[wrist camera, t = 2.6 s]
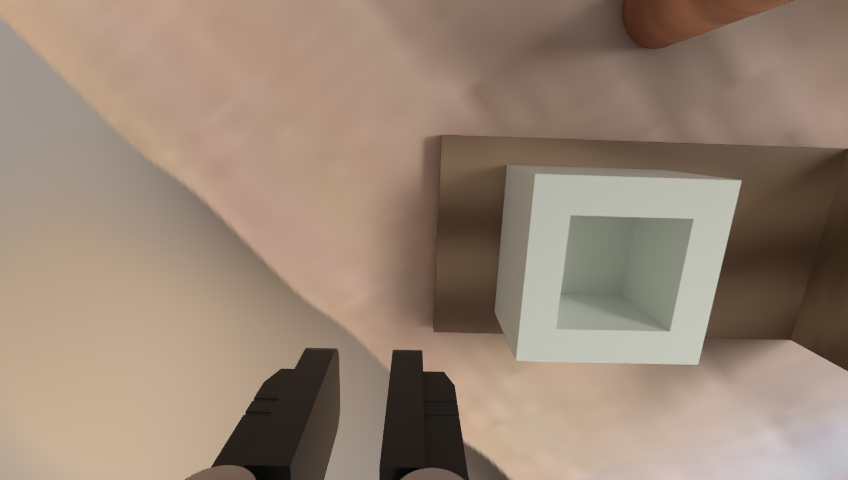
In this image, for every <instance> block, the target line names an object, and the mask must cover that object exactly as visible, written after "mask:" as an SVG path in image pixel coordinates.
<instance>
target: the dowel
mask: <svg viewBox="0 0 848 480" xmlns="http://www.w3.org/2000/svg"><path fill="white" fill-rule="evenodd" d="M791 1H793V0H624V5H623V22H624V26H625V28H626V31H627V33H628V34H629V36H630V37H631V38H632V39H633V40H634V41H635V42H636V43H638V44H639V45H641V46H643V47H647V48H662V47H666V46H669V45H671V44H674V43H677V42H680V41H682V40H685V39H688V38H691V37H694V36H696V35H699V34H702V33H705V32H707V31H710V30H713V29H716V28H718V27H721V26H724V25H727V24H730V23H732V22H735V21H738V20H741V19H743V18H746V17H749V16H752V15H755V14H757V13H760V12H763V11H766V10H768V9H771V8H774V7H777V6H779V5H782V4H785V3H788V2H791Z"/></svg>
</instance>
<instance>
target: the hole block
mask: <svg viewBox="0 0 848 480" xmlns="http://www.w3.org/2000/svg"><path fill="white" fill-rule="evenodd" d="M741 182H742V180H735V179H728V178H720V177H713V176H706V175H698V174H691V173H684V172H676V171H669V170H652V169H621V168H590V167H559V166H528V165H507V170H506V182H505V194H504V206H503V217H502V229H501V241H500V253H499V264H498V276H497V288H496V300H495V311H494V312H495V315H496V317H497V319H498V321H499V324H500V326H501V328H502V330H503V333H504V335H505V337H506V340H507V342H508V344H509V346H510V349H511V351H512V353H513V356H514V358H515V360H516V361H536V362H585V363H635V364H685V365H698V363H699V359H700V355H701V351H702V347H703V342H704V338H705V334H706V330H707V325H708V321H709V317H710V313H711V309H712V304H713V300H714V296H715V292H716V287H717V283H718V279H719V275H720V271H721V266H722V262H723V258H724V254H725V249H726V245H727V241H728V237H729V233H730V228H731V224H732V220H733V216H734V211H735V207H736V203H737V199H738V195H739V190H740V186H741Z"/></svg>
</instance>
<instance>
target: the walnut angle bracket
mask: <svg viewBox="0 0 848 480" xmlns="http://www.w3.org/2000/svg"><path fill="white" fill-rule="evenodd" d="M507 165H528V166H559V167H590V168H621V169H652V170H669V171H676V172H684V173H691V174H698V175H706V176H713V177H720V178H728V179H735V180H742V182H741V186H740V190H739V195H738V199H737V203H736V207H735V211H734V216H733V220H732V224H731V228H730V233H729V237H728V241H727V245H726V249H725V254H724V258H723V262H722V266H721V271H720V275H719V279H718V283H717V287H716V292H715V296H714V300H713V304H712V309H711V313H710V317H709V321H708V325H707V330H706V334H705V338H734V339H780V340H792V341H794V342H795V343H797V344H799V345H801V346H803V347H805V348H806V349H808V350H810V351H812V352H814V353H816V354H817V355H819V356H821V357H823V358H825V359H827V360H828V361H830V362H832V363H834V364H836V365H838V366H839V367H841V368H843V369H845V370H847V371H848V149H841V148H811V147H782V146H752V145H723V144H693V143H663V142H634V141H604V140H575V139H545V138H516V137H486V136H457V135H441V153H440V177H439V200H438V224H437V248H436V271H435V295H434V319H433V328H434V332H458V333H503V330H502V328H501V326H500V324H499V321H498V319H497V317H496V315H495V312H494V311H495V300H496V288H497V276H498V264H499V253H500V241H501V229H502V217H503V206H504V194H505V182H506V170H507Z"/></svg>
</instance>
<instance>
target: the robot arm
mask: <svg viewBox="0 0 848 480" xmlns="http://www.w3.org/2000/svg"><path fill="white" fill-rule="evenodd" d="M339 384H340V382H339V353H338V350H337V349H332V348H306V349H305V350H304V352H303V354H302V356H301V358H300V360H299V362H298V364H297V365H296V367H295V369H280V370H279V371H278V372H277V373H275V374H274V375H273V376H271V377H270V378H269V379H267V380H266V381H265V382H264V383H263V385H262V386H261V388H260V389H259V391H258V393H257V394H256V396H255V398H254V401H252V403H251V404H250V406H249V407H248V409H247V410H246V414H245V415H244V416H243V417H242V418H241V420H240V422H239V423H238V425H237V426H236V428H235V430H234V431H233V433H232V435H231V436H230V438H229V439H228V441H227V443H226V444H225V446H224V447H223V449H222V451H221V452H220V454H219V455H218V457H217V459H216V460H215V462H214V463H213V465H212V466H211V468H208V469H205V470H202V471H200V472H198V473H195V474H193V475H192V476H190V477H188V478H186V479H185V480H324V478H325V474H326V470H327V466H328V463H329V459H330V455H331V451H332V448H333V444H334V441H335V437H336V433H337V429H338V423H339V415H340V385H339ZM380 480H469V477H468V473H467V466H466V459H465V453H464V446H463V439H462V432H461V426H460V419H459V412H458V406H457V399H456V392H455V385H454V384H453V383H452V382H451V380H450V379H449V378H448V377H447V375H446V374H445V373H444V372H423V357H422V350H393V354H392V363H391V371H390V381H389V390H388V399H387V406H386V415H385V424H384V433H383V442H382V450H381V459H380Z"/></svg>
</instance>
